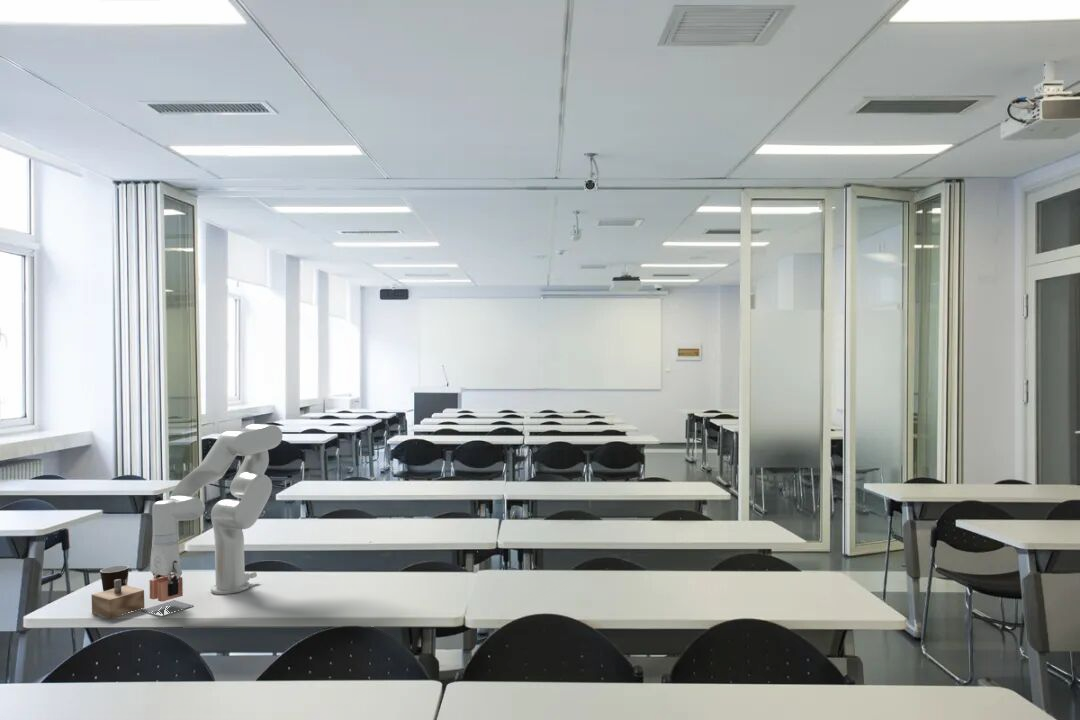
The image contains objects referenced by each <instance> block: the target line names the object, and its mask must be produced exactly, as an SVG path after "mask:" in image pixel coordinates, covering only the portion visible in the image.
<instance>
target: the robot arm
mask: <svg viewBox="0 0 1080 720" xmlns="http://www.w3.org/2000/svg"><path fill="white" fill-rule="evenodd" d="M282 440H283V431H282V429H281V428H280V427H279V426H277V425H275V424H266V423H264V424H263V423H251V424H248V425H246V426H245V427H244V428H243V429H242V431H239V430H227V431H224V432H222V433H221V434H220V435H219V436H218V437H217V440H216V441H215V443H213V445H212V446H211V448H210V450H209V451H208V453H207V454H206V456H205V457H204V458H203V460H202V461H201V462H200V464H199V465H198V466H197V467H196V468H194V469H193V470H192V471H191V472H189V473H188V474H186V475H185V476H184V477H183V478H182V479H181V480H180V481H179V482H178V483H177V484H176V486H175V487H174V489H173V490H172V492H171V493H170V495H169V496H168V498H167V499H163V500H158V501H155V502H153V504H152V507H151V508H152V510H151V511H152V514H151V515H152V545H151V548H150V549H151V551H150V561H149V562H150V563H149V564H150V565H149V567H150V572H151V573H152V575H153V578H152V579H155V578H159V577H163V576H167V577H168V580H169V583H170V584H168V596H173V595H177V594H178V582H179V579H180V577H182V574H183V571H182V570H181V558H180V557H181V555H180V546H179V521H181V522H182V521H193V520H196V519H199V518H201V516H203V514H204V513H205V511H206V504H205V502H204V501H203V500H202V499H200V498H199V497H195V495H196V494H197V493H198V492H199V491H200V490H201V489H202V488H204V487H205V486H208V485H210V484H213V483H215V482H217V481H218V480H221V479H222V478H223V477H224V476H225V475H226V473H227V471H228V470H229V468H230V467H231V465H232V463H233V462H234V461H235V459H236V457H237V456H240V457H241V456H242V457H244V459H243V461H242V462H241V465H240V467H239V468H238V471H237V472H236V474H235V475H234V477H233V479H232V480H231V483H230V486H229V492H230V493H231V495H232V496H233V497H235V498H237V499H232V498H231V499H230V498H227V499H226V498H225V499H220V500H219V501H217V502H216V503H215V504H214V505H213V506H212V508H211V513H210V519H211V524H212V528H213V537H214V564H215V565H214V566H215V567H214V569H215V574H214V575H215V585H212V586H211V588H210V592H211V593H212V594H215V595H231V594H236V593H241V592H244V591H246V590H248V589H249V588H250V586H251V584H250V582H249V580H250V579H254V578H257V575H258V574H257V572H256V571H252V572H251V573H249V572H246V571H245V570H246V569H245V537H244V531H243V530H247V529H249V528H251V527H252V526H254V525H255V524H256V522H257V521H258V520H259V518H260V516H261V513H262V512H263V510H264V508H265V506H266V505H267V503H268V501H269V498H270V497H271V494H272V490H273V483H272V480H271V478H270V477H269V476H268V475H266V474H265V473H266V471H267V469H268V466H269V462H270V458H269V457H270V456H269V451H268V450H272V449H275V448H276V447H278V446H279V445H280V444H281V442H282ZM239 499H240V500H239ZM173 575H174V577H173V578H172V577H171V576H173Z"/></svg>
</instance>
